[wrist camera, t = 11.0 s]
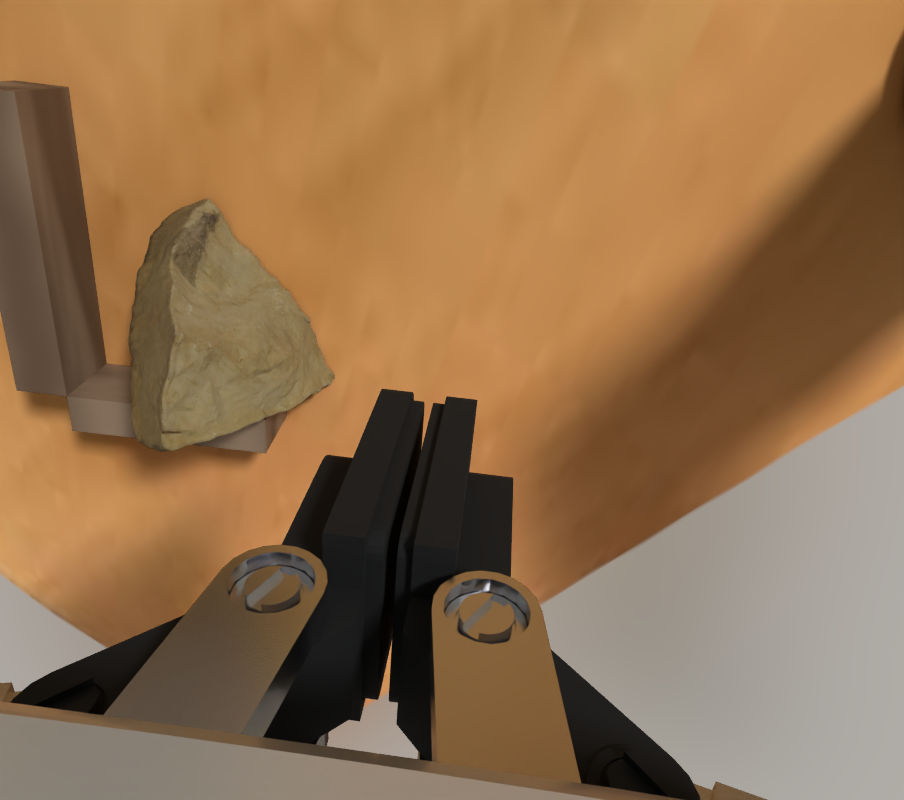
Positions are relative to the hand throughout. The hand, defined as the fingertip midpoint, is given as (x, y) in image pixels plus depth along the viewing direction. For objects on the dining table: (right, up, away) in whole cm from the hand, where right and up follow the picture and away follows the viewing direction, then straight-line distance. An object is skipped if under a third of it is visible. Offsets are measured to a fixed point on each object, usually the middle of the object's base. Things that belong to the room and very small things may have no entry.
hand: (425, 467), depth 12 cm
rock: (-10, +7, +24) cm, 27 cm away
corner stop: (-14, +8, +23) cm, 28 cm away
